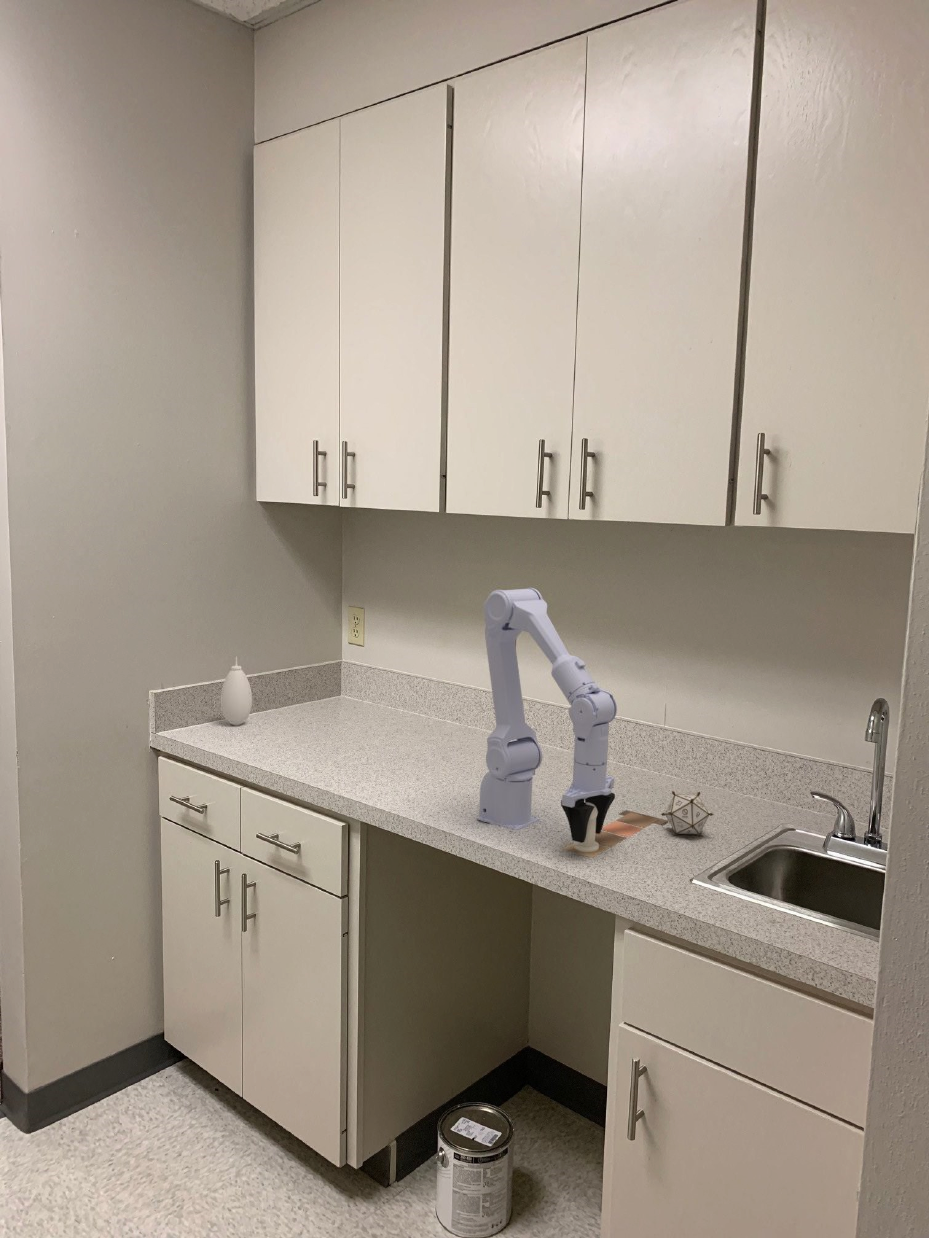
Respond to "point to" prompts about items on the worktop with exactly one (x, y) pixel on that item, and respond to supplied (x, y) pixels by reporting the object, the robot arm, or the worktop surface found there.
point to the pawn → (589, 835)
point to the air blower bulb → (236, 696)
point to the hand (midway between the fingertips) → (586, 836)
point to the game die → (687, 814)
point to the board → (620, 830)
